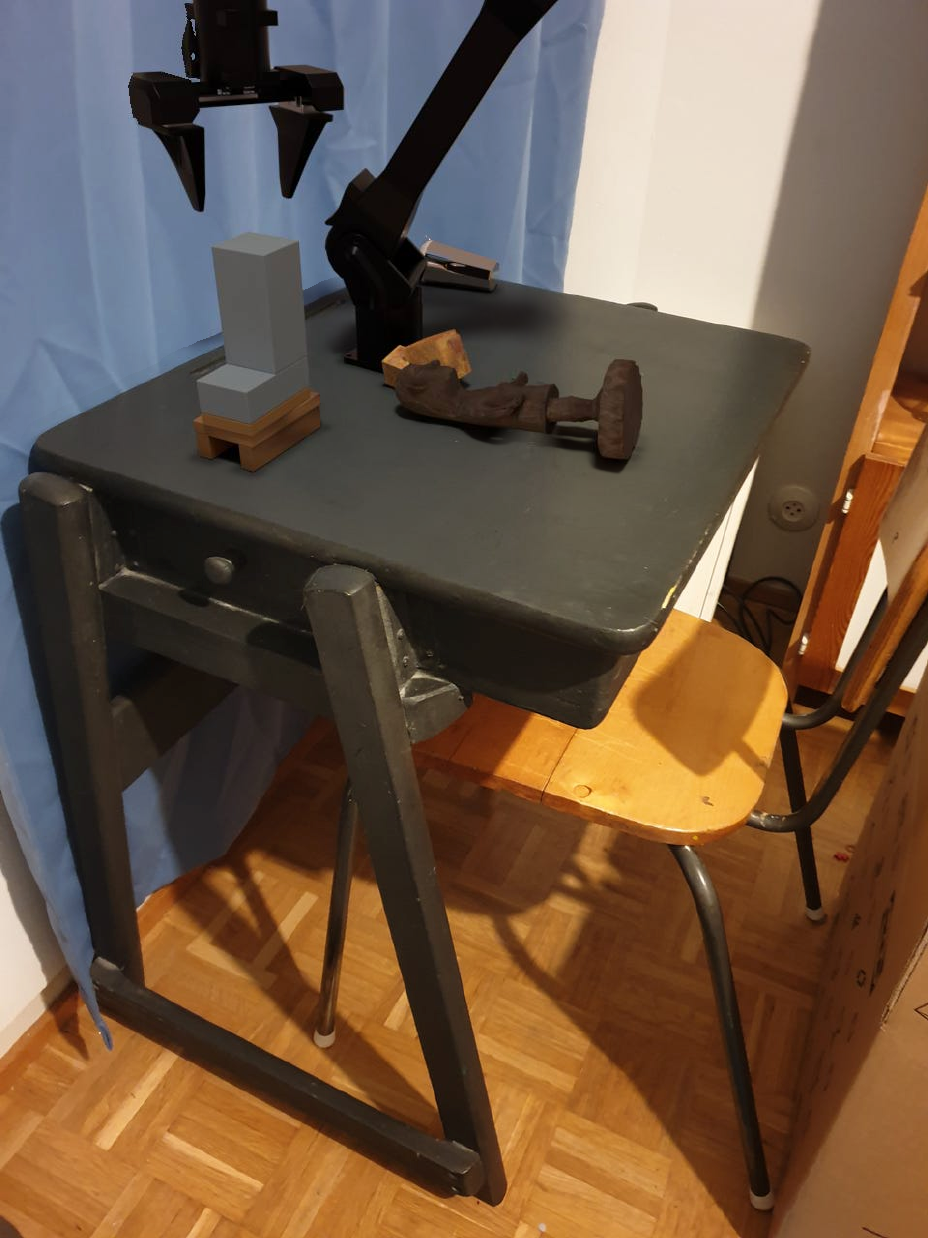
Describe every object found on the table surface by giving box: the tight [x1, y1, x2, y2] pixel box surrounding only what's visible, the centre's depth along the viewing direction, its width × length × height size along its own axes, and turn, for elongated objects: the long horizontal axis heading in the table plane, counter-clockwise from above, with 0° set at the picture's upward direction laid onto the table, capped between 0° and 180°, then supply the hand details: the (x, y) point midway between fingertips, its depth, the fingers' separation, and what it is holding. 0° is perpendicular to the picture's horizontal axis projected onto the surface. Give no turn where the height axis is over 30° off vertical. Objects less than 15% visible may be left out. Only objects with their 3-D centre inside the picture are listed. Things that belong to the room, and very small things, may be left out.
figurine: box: [394, 358, 644, 460], centre depth 75 cm, size 9×8×20 cm
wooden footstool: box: [192, 390, 322, 473], centre depth 73 cm, size 9×5×3 cm, turn 153°
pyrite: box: [382, 328, 473, 388], centre depth 82 cm, size 5×7×4 cm
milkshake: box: [416, 228, 500, 292], centre depth 105 cm, size 5×5×10 cm
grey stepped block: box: [196, 231, 311, 437], centre depth 68 cm, size 8×4×12 cm, turn 155°
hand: (244, 203), depth 82 cm, fingers open, 9 cm apart
